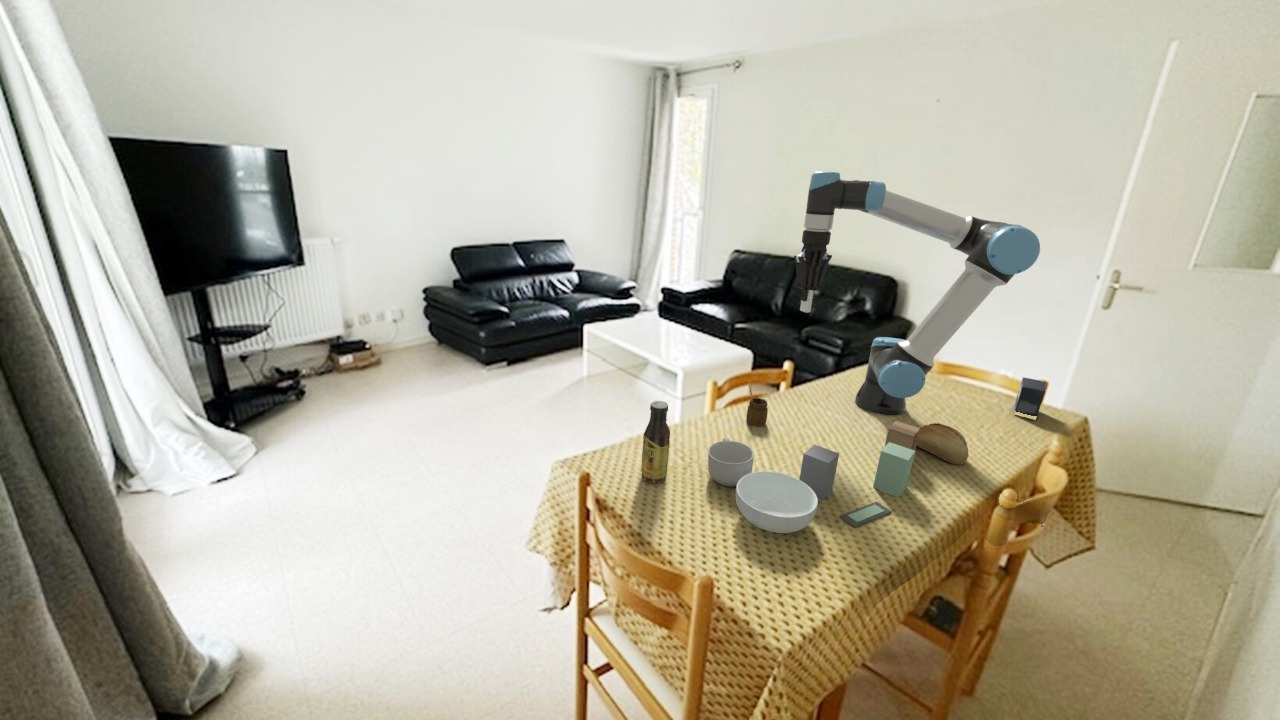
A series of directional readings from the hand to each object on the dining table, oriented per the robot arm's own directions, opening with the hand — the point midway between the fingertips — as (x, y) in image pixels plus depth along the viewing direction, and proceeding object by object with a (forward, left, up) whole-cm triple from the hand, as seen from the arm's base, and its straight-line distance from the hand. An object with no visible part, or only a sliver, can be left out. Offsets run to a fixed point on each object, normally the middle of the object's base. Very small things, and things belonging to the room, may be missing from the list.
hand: (805, 311), depth 155 cm
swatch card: (+24, +48, -32) cm, 63 cm away
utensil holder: (+16, +2, -33) cm, 36 cm away
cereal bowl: (+44, +40, -33) cm, 68 cm away
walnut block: (-3, +36, -33) cm, 49 cm away
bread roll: (-18, +38, -33) cm, 53 cm away
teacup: (+42, +22, -33) cm, 58 cm away
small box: (-71, +34, -33) cm, 85 cm away
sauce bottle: (+59, +15, -33) cm, 69 cm away
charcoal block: (+27, +36, -33) cm, 56 cm away
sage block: (+9, +43, -33) cm, 55 cm away
